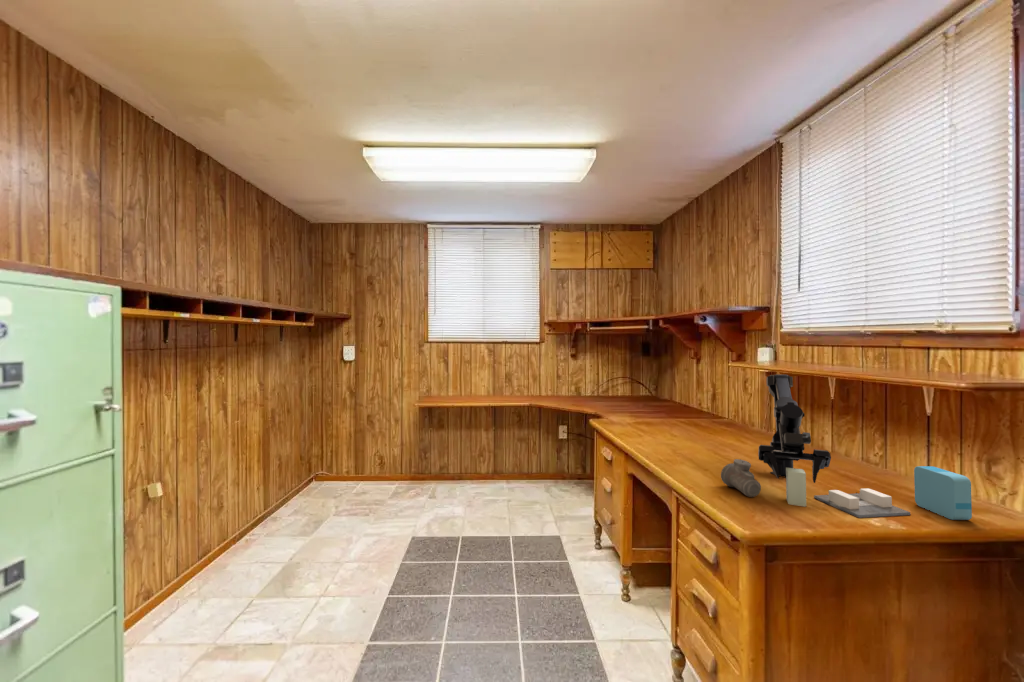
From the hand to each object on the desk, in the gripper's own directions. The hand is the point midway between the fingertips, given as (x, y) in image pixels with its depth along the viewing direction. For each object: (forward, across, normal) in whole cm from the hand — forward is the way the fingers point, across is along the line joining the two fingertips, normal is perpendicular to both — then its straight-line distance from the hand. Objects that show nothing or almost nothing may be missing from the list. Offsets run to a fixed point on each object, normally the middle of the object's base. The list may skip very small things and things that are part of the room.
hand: (796, 479), depth 124 cm
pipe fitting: (+2, -14, +9) cm, 17 cm away
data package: (-2, +36, +13) cm, 38 cm away
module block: (+4, 0, +6) cm, 7 cm away
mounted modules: (+1, +16, +10) cm, 19 cm away
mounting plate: (+1, +16, +10) cm, 19 cm away
